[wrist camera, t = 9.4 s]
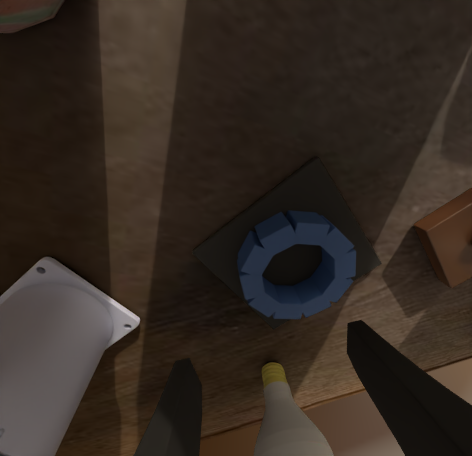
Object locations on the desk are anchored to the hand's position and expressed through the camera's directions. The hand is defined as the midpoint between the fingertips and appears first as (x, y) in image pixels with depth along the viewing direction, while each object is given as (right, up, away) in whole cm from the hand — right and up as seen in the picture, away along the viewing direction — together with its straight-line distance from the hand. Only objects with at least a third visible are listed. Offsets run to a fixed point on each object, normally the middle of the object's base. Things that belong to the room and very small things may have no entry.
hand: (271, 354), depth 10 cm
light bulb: (+2, -7, +12) cm, 14 cm away
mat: (+2, +4, +6) cm, 8 cm away
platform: (+16, +6, +7) cm, 18 cm away
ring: (+2, +4, +6) cm, 7 cm away
